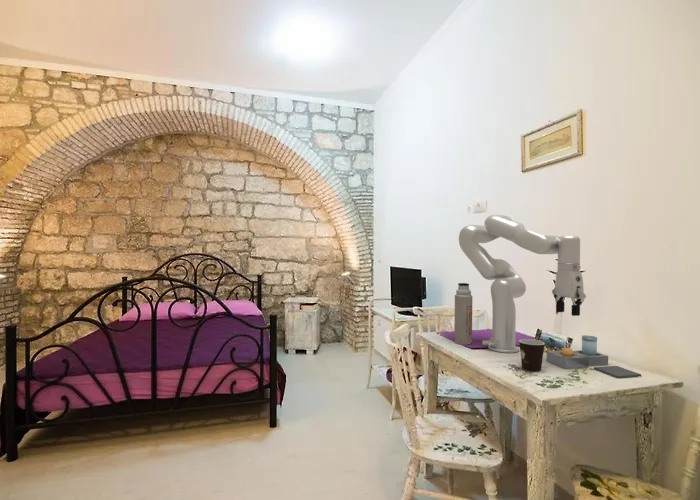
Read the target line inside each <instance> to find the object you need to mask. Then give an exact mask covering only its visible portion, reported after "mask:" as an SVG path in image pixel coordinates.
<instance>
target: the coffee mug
mask: <svg viewBox="0 0 700 500" xmlns="http://www.w3.org/2000/svg"><path fill="white" fill-rule="evenodd" d="M518 341H519V352H520V360H521V361H520V362H521V368H522V369H523V370H525V371H528V372H532V373H533V372H534V373H535V372H537V373H538V372H541V371H542V365H543V360H544V350H545V342H544V341H542V340H537V339H528V338H525V339H519V340H518Z"/></svg>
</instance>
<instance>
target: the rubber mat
mask: <svg viewBox="0 0 700 500" xmlns="http://www.w3.org/2000/svg"><path fill="white" fill-rule="evenodd" d="M593 370H594V371H597V372H600V373H602V374H606V375H608V376H610V377H613V378H615V379H629V378H639V377H638V376H641V377H642V374H641V373H639V372H636V371H633V370H630V369H627V368H624V367H622V366H619V365H609V366H608V365H603V366H593Z"/></svg>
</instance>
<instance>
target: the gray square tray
mask: <svg viewBox="0 0 700 500" xmlns="http://www.w3.org/2000/svg"><path fill="white" fill-rule="evenodd" d="M573 352H575V353H578V354H581V355H584V354H582V349H581V350H573ZM584 356H587V355H584ZM587 357H589V361H588V367H601V366H608V365H609V355H606V354H604V353H600V352H597V356H587Z"/></svg>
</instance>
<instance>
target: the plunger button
mask: <svg viewBox="0 0 700 500" xmlns="http://www.w3.org/2000/svg"><path fill="white" fill-rule="evenodd" d="M561 350H562V355H565V356H572V353H573V351H574V350H573V348H569V347H561Z"/></svg>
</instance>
